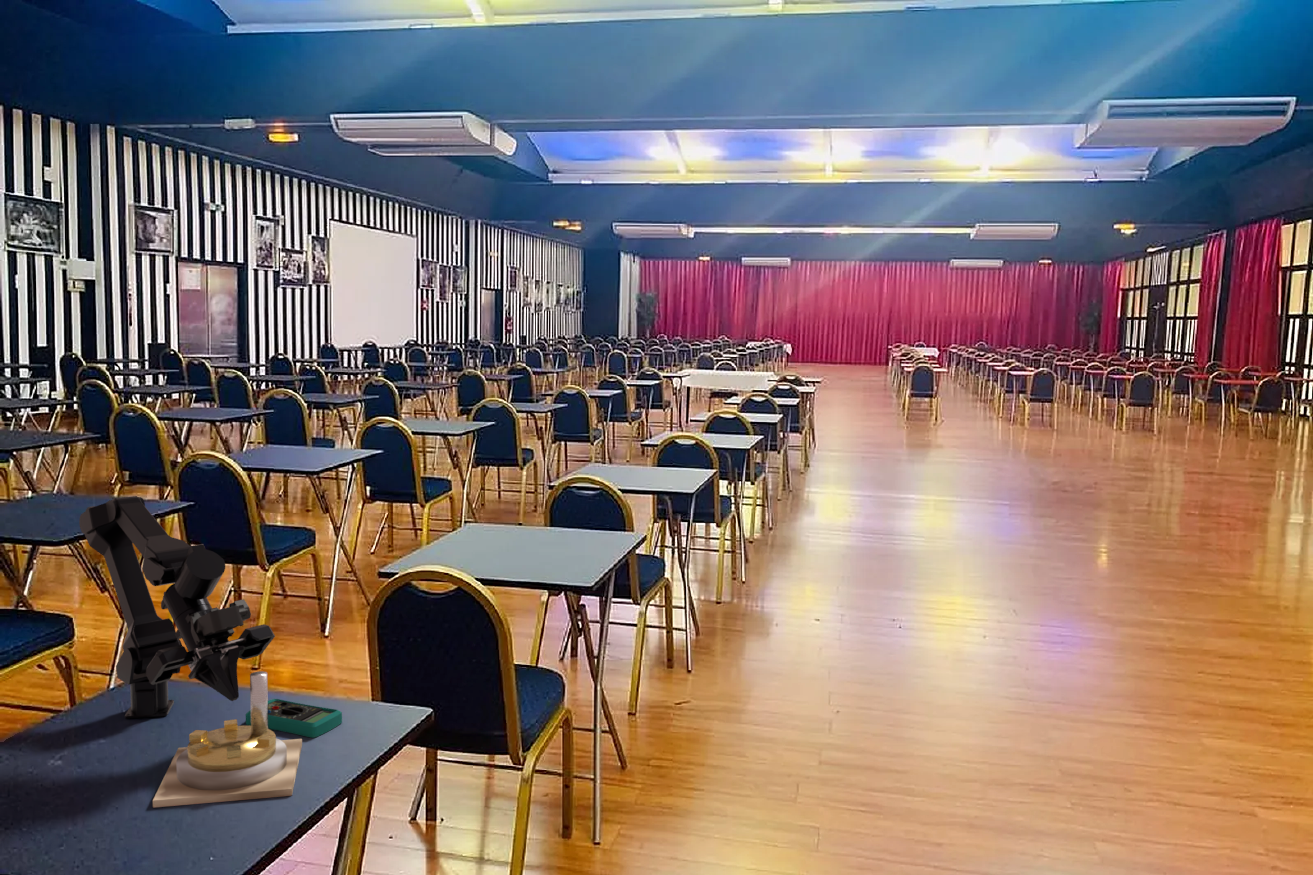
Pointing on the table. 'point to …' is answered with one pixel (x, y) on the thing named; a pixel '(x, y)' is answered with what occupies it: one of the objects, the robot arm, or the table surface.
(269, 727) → the digital multimeter
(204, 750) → the round base with post
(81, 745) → the table surface
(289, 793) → the cap housing
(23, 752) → the table surface
